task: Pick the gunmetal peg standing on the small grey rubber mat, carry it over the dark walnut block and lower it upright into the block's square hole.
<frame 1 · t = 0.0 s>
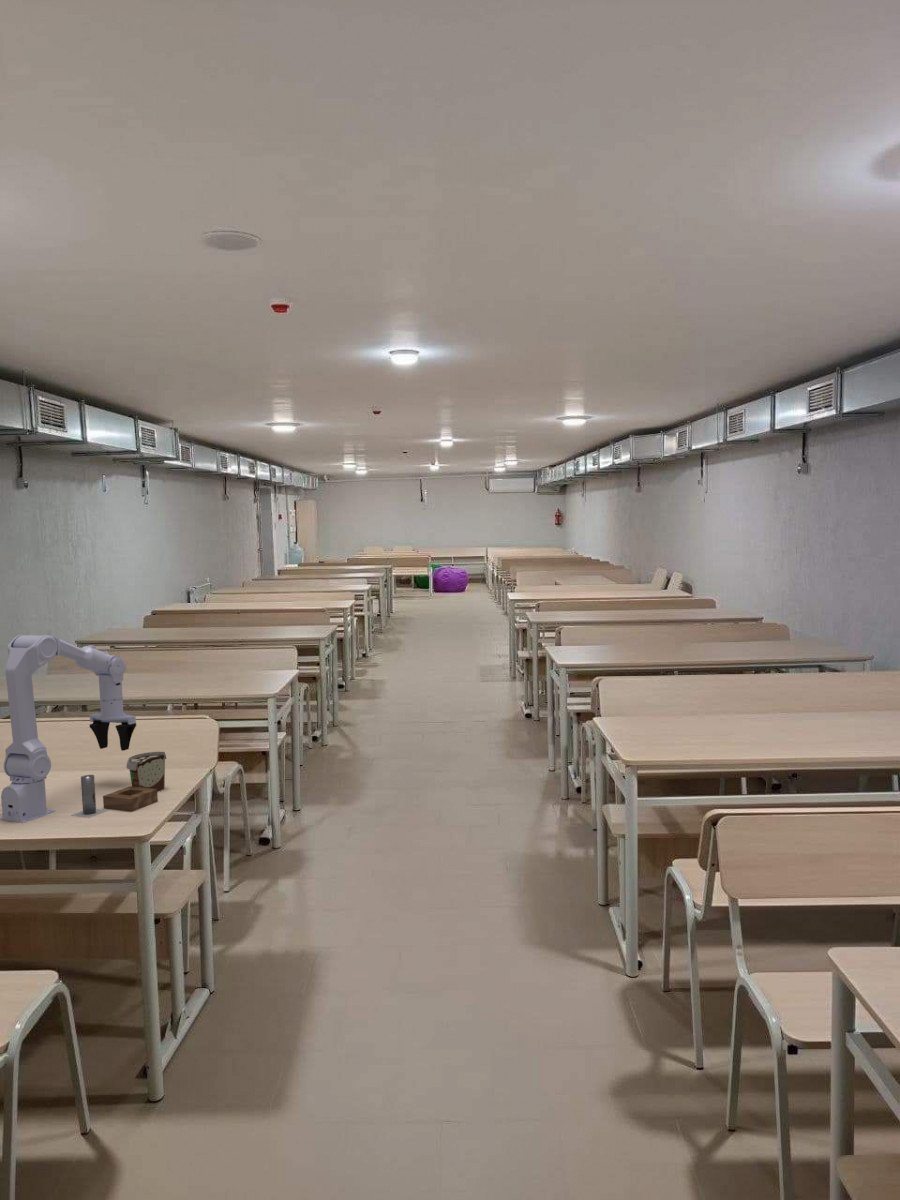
hand: (114, 748, 241), 10 cm above the table, tool pointing down, fingers open, 7 cm apart
mat: (89, 814, 215), on the table
peg: (89, 812, 215), resting on mat
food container: (143, 794, 232), on the table
hole block: (131, 806, 221), on the table
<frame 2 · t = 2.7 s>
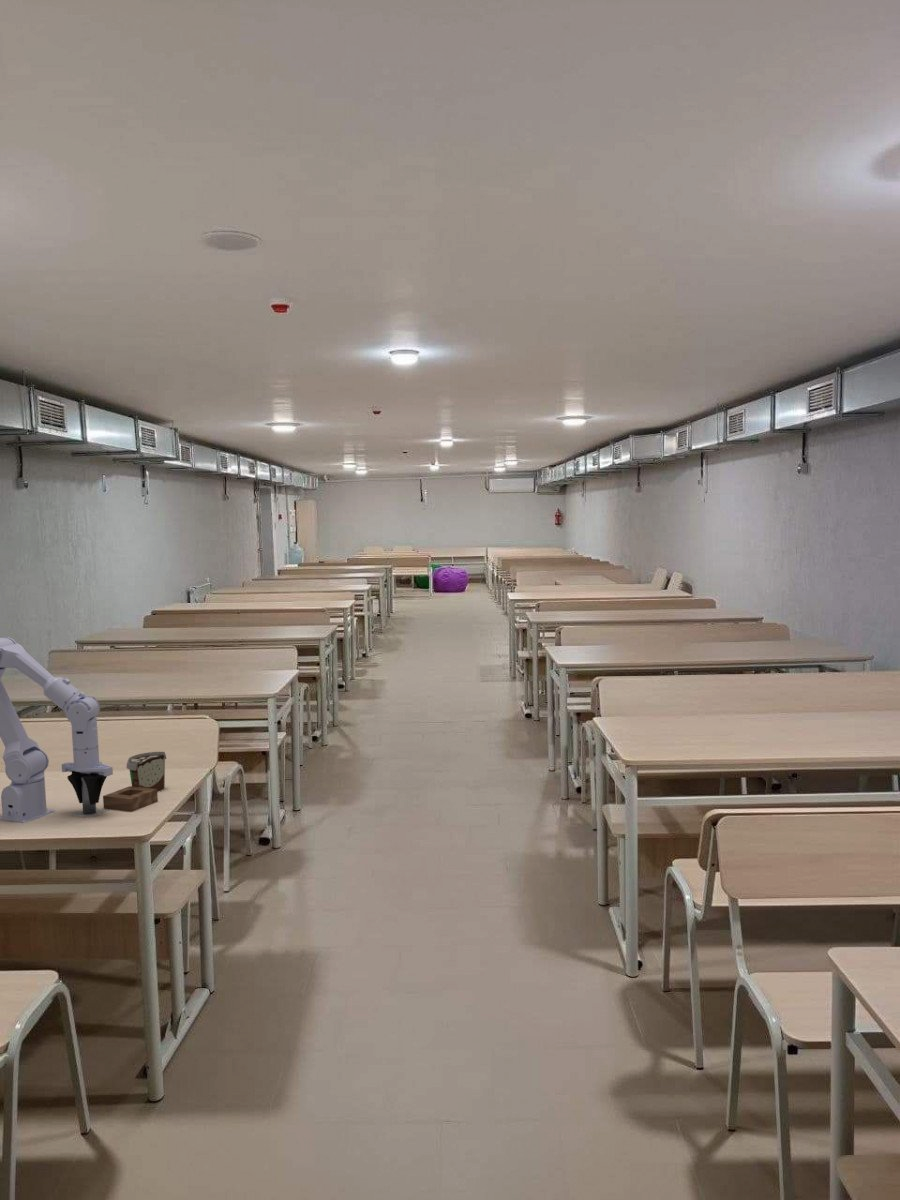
hand: (89, 802, 215), 3 cm above the table, tool pointing down, fingers closed on peg, 3 cm apart
peg: (89, 812, 215), resting on mat, touching gripper
everything else where it was.
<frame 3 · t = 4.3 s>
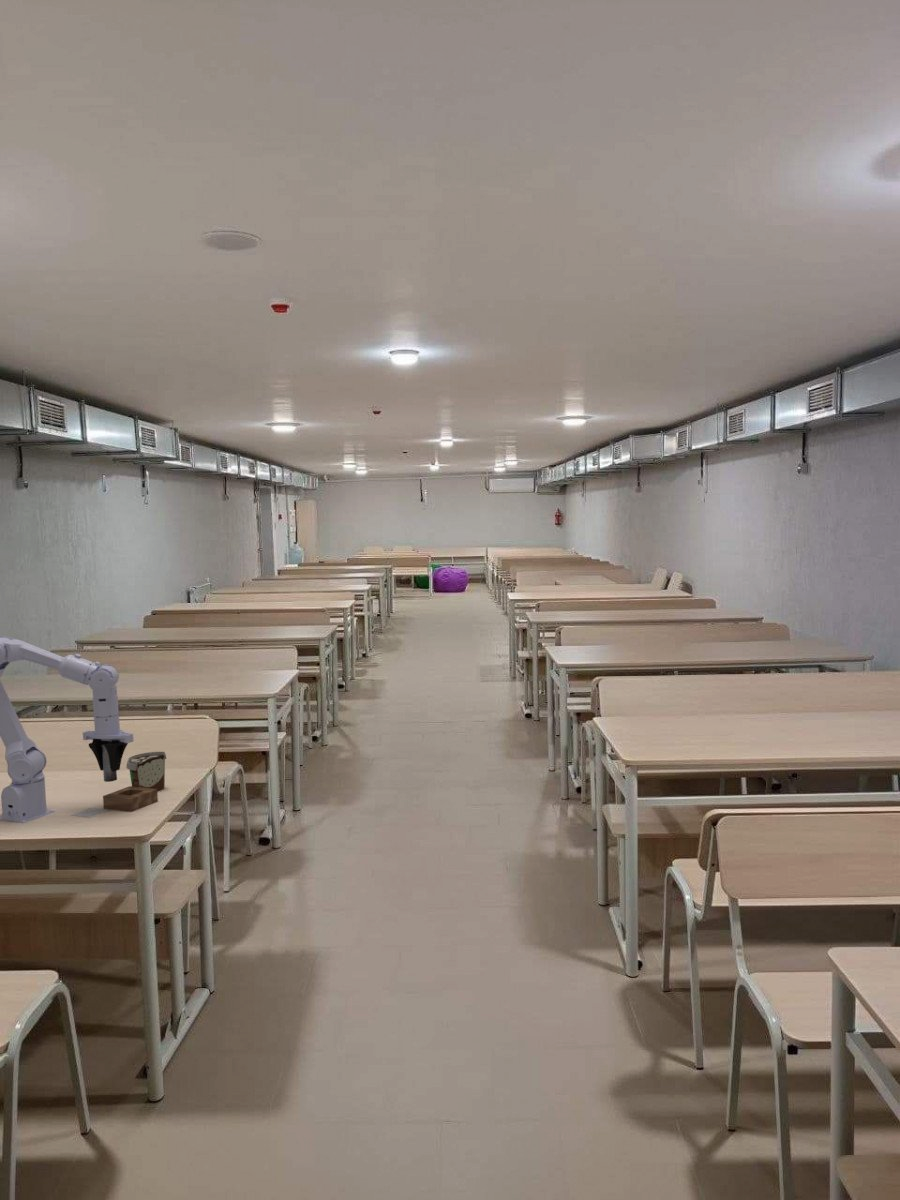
hand: (110, 770, 218), 10 cm above the table, tool pointing down, fingers closed on peg, 3 cm apart
peg: (110, 780, 218), point 8 cm above the table, touching gripper
everything else where it was.
when the fingers open (4 cm above the table, at t = 6.2 s): peg drops 2 cm, resting in hole block.
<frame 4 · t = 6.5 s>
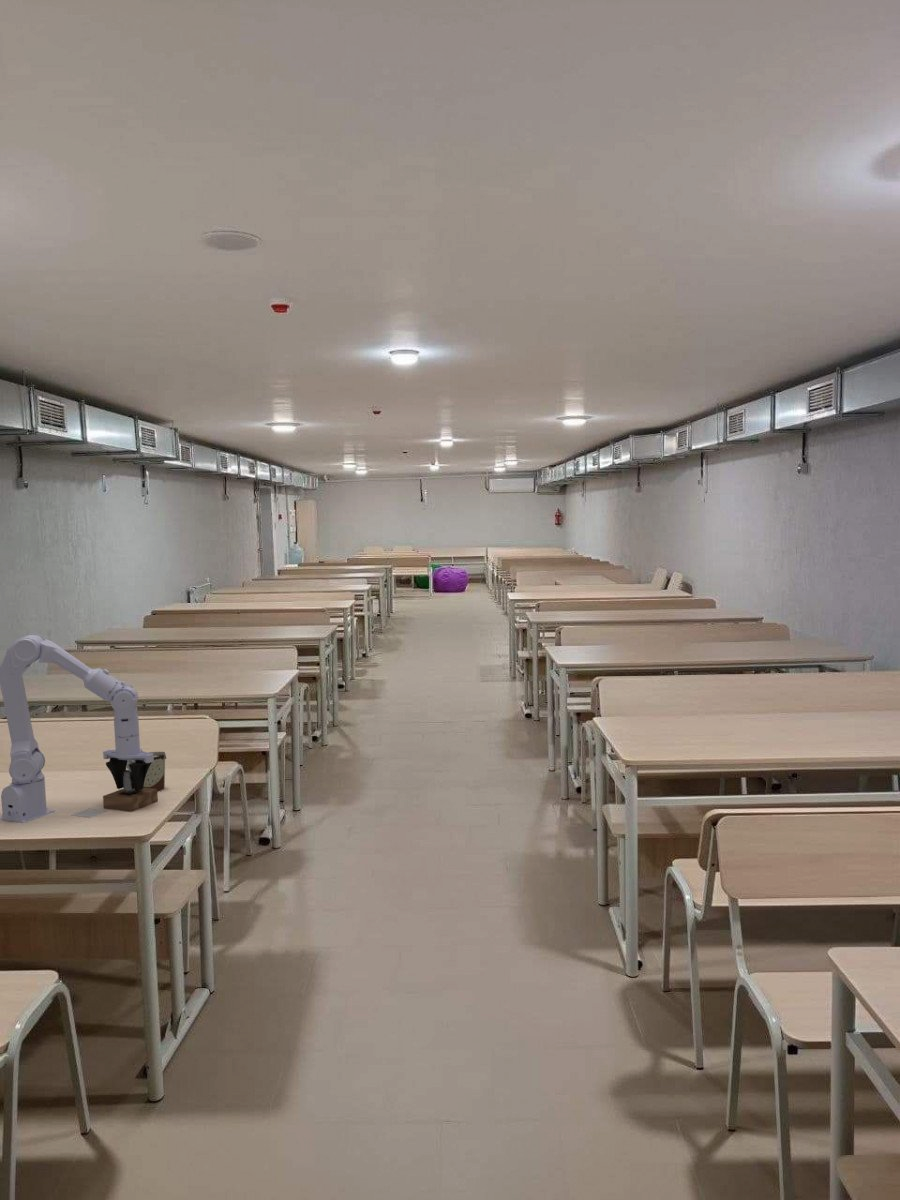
hand: (130, 788, 221), 4 cm above the table, tool pointing down, fingers open, 5 cm apart
peg: (131, 806, 221), resting in hole block
everything else where it was.
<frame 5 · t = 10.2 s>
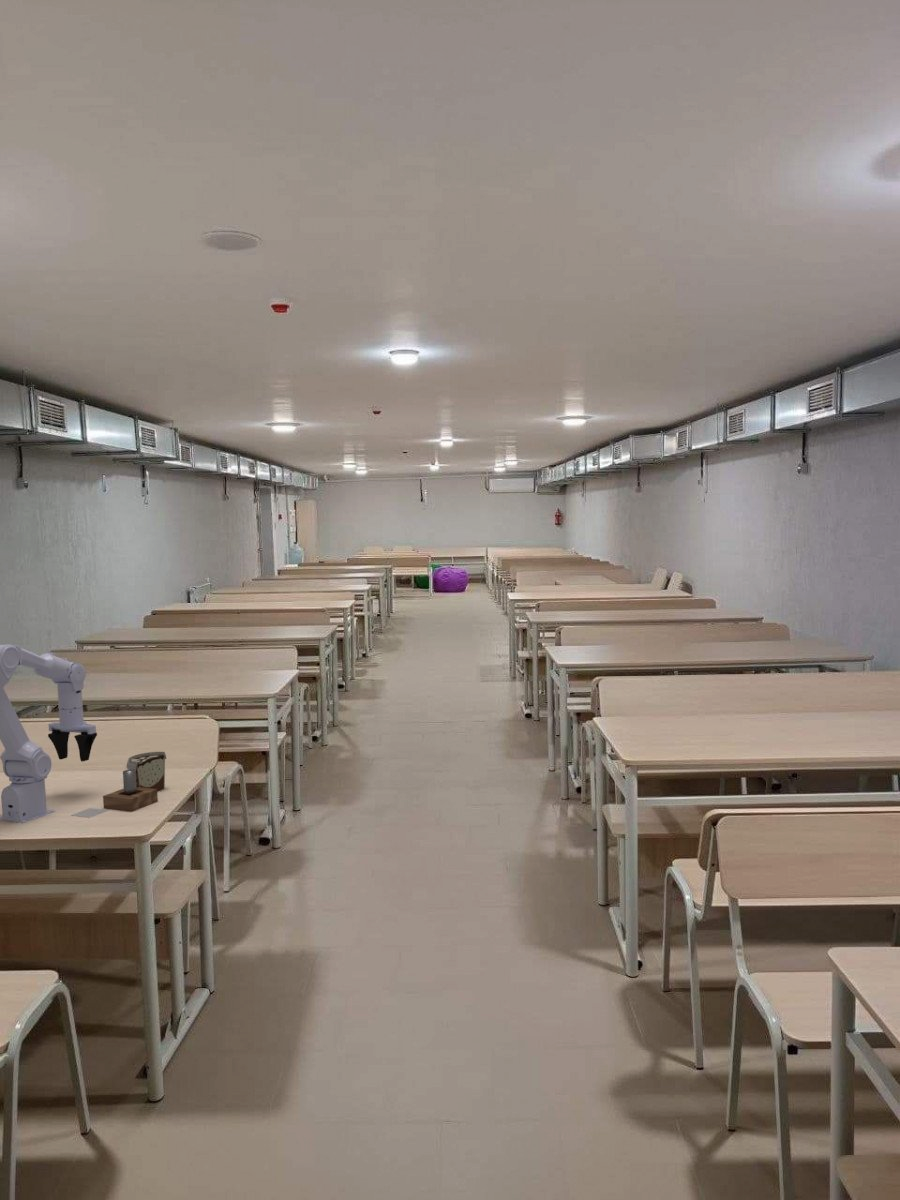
hand: (74, 759, 230), 10 cm above the table, tool pointing down, fingers open, 7 cm apart
nothing on the table moved.
at the end: peg 0.1 cm off-centre on the hole block, point 0.0 cm above the hole block's base; peg tilted 0°; the gripper is holding nothing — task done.
